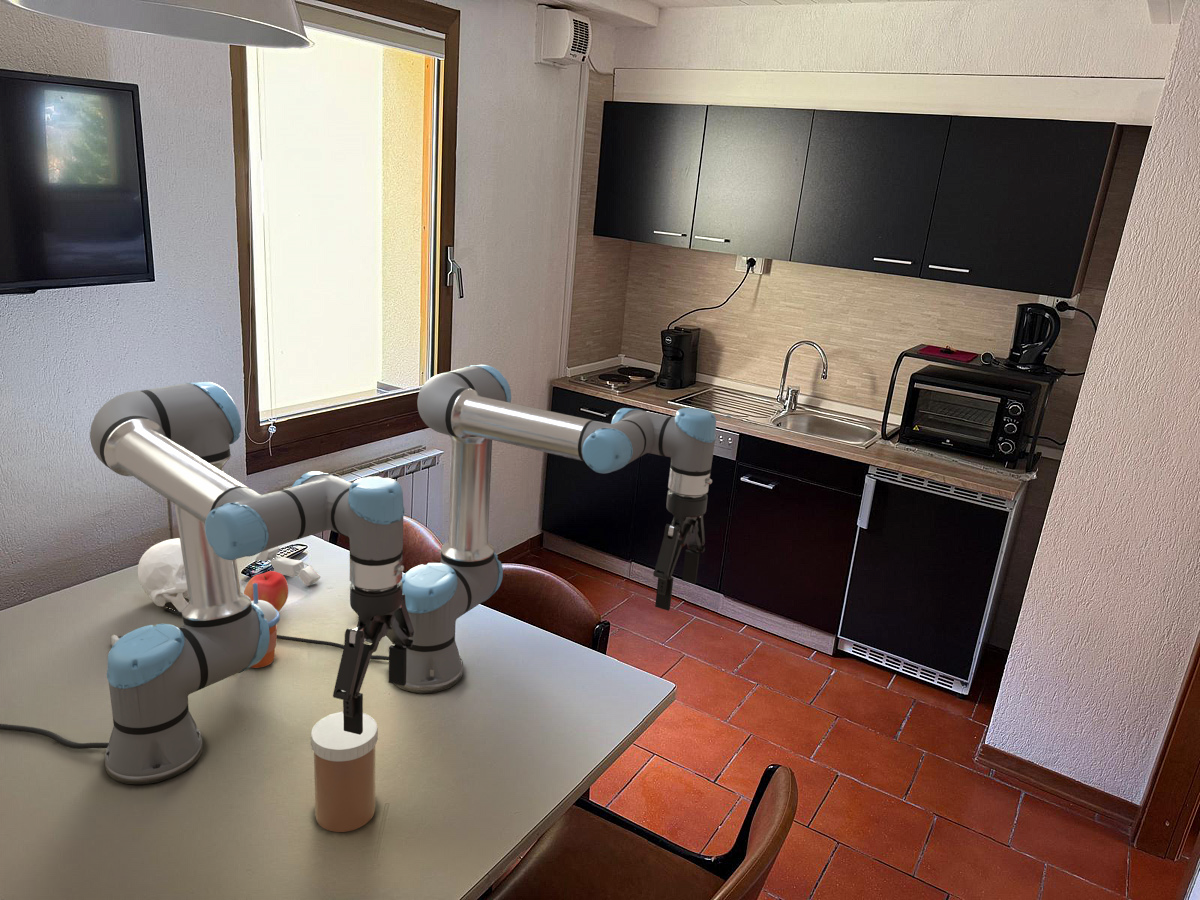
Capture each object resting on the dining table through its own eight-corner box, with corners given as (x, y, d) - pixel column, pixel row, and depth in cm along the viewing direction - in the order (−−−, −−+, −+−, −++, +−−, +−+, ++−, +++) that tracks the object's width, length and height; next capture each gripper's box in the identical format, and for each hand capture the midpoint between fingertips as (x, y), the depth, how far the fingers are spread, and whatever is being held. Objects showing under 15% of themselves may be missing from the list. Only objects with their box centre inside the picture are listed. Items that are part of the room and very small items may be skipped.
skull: (204, 625, 194) (201, 560, 189) (125, 605, 199) (121, 542, 195) (243, 602, 206) (242, 541, 202) (168, 584, 212) (165, 524, 207)
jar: (387, 808, 143) (387, 729, 139) (342, 841, 136) (341, 758, 131) (348, 784, 148) (347, 707, 144) (303, 814, 140) (300, 734, 136)
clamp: (253, 565, 223) (254, 542, 221) (265, 560, 226) (266, 537, 224) (309, 593, 215) (310, 569, 213) (320, 588, 218) (321, 564, 216)
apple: (273, 600, 207) (272, 562, 204) (297, 613, 202) (296, 575, 199) (237, 614, 200) (234, 575, 197) (261, 628, 194) (259, 588, 191)
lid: (391, 738, 139) (391, 727, 139) (340, 770, 131) (340, 758, 130) (348, 714, 145) (348, 703, 144) (297, 744, 136) (296, 732, 136)
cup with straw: (265, 675, 177) (262, 597, 172) (226, 667, 178) (221, 589, 173) (289, 653, 185) (287, 578, 180) (251, 646, 187) (248, 571, 182)
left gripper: (354, 625, 113) (356, 760, 120) (436, 553, 136) (434, 670, 143) (304, 614, 115) (308, 748, 121) (394, 545, 138) (393, 661, 144)
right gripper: (681, 516, 147) (669, 626, 153) (728, 478, 168) (716, 576, 174) (642, 506, 150) (631, 614, 156) (693, 470, 171) (682, 566, 178)
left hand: (376, 706), depth 132 cm, fingers open, 13 cm apart
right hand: (676, 594), depth 165 cm, fingers open, 13 cm apart
